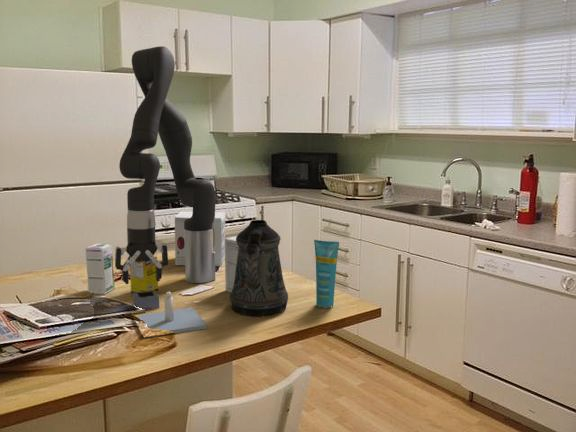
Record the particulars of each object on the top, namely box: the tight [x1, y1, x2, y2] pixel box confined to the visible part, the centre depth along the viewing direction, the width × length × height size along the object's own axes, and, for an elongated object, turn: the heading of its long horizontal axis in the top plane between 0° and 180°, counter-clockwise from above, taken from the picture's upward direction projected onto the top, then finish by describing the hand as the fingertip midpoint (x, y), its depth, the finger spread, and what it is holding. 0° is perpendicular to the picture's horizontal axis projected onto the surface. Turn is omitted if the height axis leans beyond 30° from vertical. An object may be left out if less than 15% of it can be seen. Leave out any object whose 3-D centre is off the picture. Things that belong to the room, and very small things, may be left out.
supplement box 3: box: [224, 235, 239, 293], centre depth 168 cm, size 10×9×17 cm
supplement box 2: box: [174, 210, 226, 267], centre depth 201 cm, size 17×13×18 cm
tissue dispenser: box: [132, 290, 160, 311], centre depth 154 cm, size 6×6×4 cm
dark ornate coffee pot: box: [229, 219, 289, 318], centre depth 151 cm, size 16×19×25 cm
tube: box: [313, 239, 340, 308], centre depth 155 cm, size 7×5×19 cm, turn 73°
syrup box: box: [84, 243, 116, 295], centre depth 166 cm, size 6×6×14 cm
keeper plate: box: [138, 291, 208, 334], centre depth 141 cm, size 16×14×8 cm
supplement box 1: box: [129, 256, 159, 294], centre depth 166 cm, size 6×6×11 cm
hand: (142, 281), depth 153 cm, fingers open, 8 cm apart
